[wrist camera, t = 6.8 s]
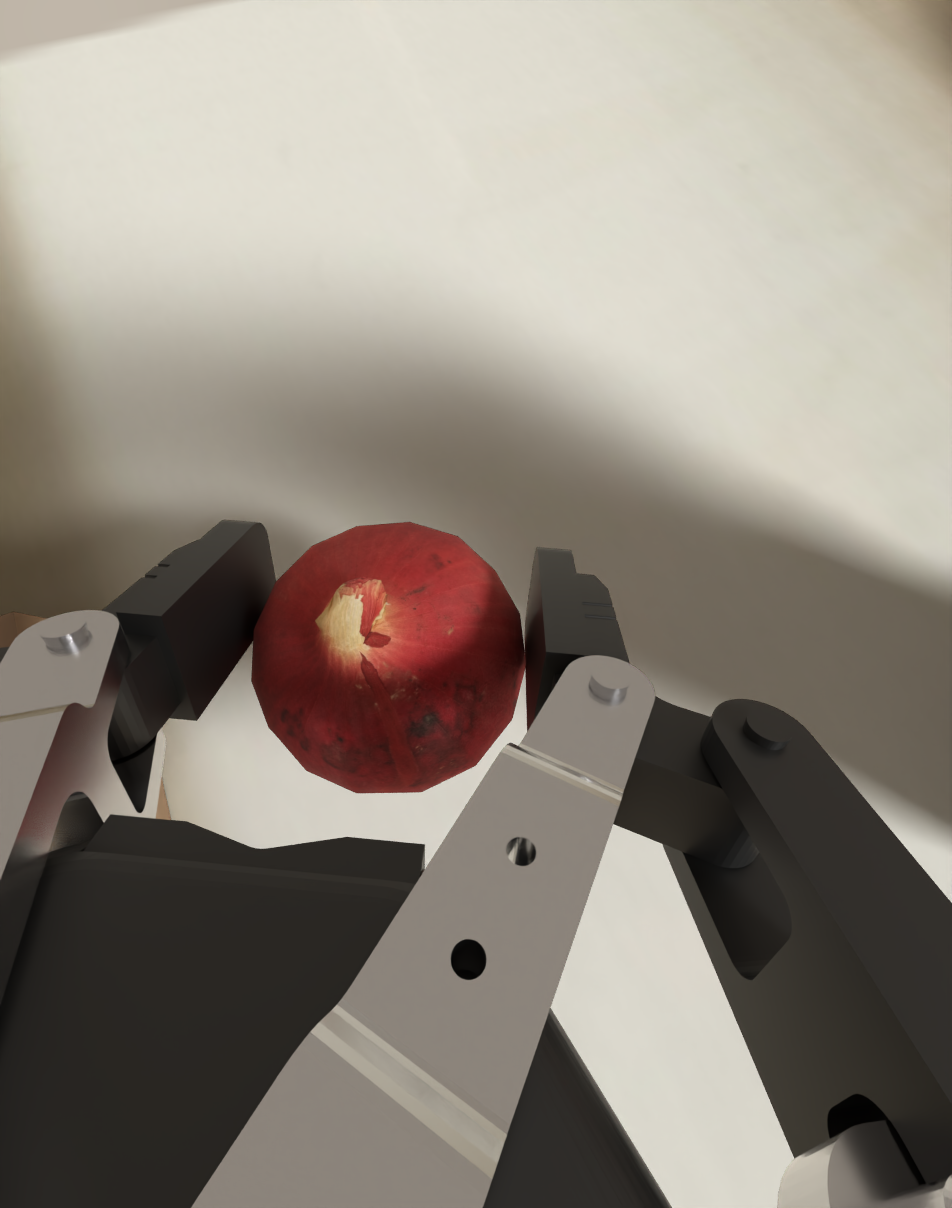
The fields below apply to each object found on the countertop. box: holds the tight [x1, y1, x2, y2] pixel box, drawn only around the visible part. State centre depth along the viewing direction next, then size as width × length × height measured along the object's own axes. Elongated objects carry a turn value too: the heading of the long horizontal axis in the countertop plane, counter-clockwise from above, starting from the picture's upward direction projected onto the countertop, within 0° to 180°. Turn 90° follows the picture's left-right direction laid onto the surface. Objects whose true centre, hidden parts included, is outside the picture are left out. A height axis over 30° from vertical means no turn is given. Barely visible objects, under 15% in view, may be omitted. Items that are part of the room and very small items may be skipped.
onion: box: [251, 522, 525, 793], centre depth 11 cm, size 6×6×8 cm
